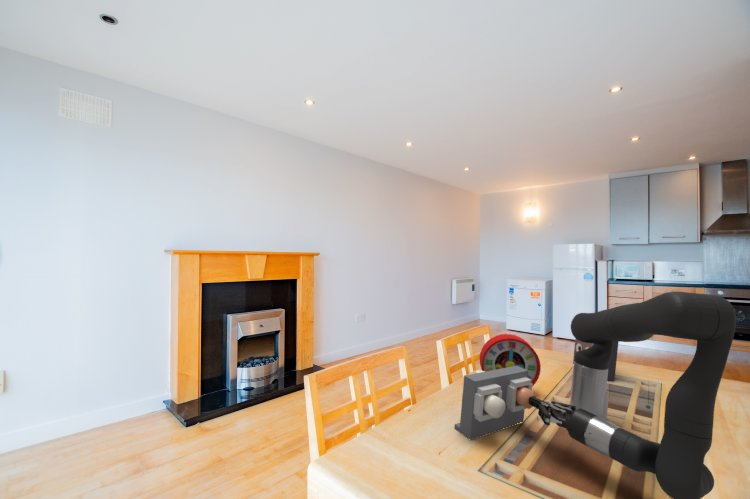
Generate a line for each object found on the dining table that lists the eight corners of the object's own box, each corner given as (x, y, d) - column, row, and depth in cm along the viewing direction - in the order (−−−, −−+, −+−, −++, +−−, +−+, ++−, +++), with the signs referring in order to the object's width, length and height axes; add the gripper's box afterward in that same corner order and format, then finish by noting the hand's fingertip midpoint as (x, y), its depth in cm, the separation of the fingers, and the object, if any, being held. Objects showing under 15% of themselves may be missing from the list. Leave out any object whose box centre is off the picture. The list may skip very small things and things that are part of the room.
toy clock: (479, 389, 124) (484, 335, 123) (477, 382, 130) (481, 330, 129) (537, 398, 121) (543, 342, 120) (533, 391, 126) (538, 337, 126)
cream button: (478, 411, 92) (479, 393, 92) (491, 408, 95) (492, 390, 95) (491, 419, 89) (493, 401, 88) (504, 416, 91) (506, 397, 91)
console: (506, 413, 108) (511, 363, 107) (529, 426, 101) (534, 373, 101) (454, 428, 97) (459, 372, 97) (475, 444, 90) (480, 384, 90)
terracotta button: (510, 402, 99) (511, 385, 99) (521, 399, 101) (523, 383, 101) (523, 410, 95) (525, 392, 95) (535, 407, 98) (537, 389, 97)
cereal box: (572, 365, 158) (577, 313, 157) (581, 365, 159) (586, 314, 158) (604, 381, 141) (610, 323, 140) (614, 381, 142) (620, 324, 141)
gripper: (611, 411, 84) (546, 383, 99) (581, 422, 78) (516, 390, 93) (608, 441, 85) (543, 408, 100) (578, 455, 78) (513, 417, 93)
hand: (530, 399), depth 96 cm, fingers closed
